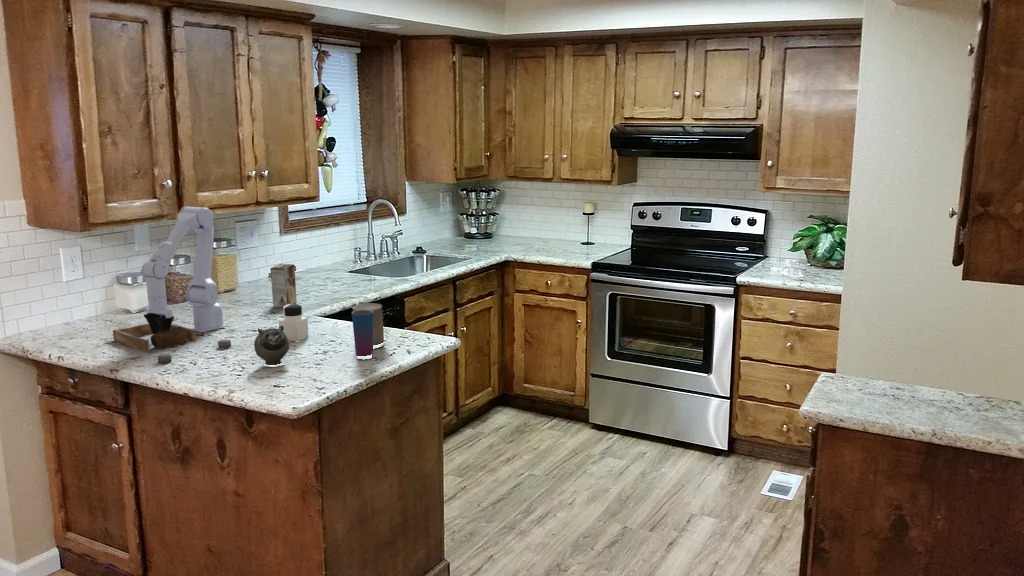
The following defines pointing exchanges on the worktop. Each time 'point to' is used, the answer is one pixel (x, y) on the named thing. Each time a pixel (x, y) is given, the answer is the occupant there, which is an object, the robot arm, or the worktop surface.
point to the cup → (363, 331)
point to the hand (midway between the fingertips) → (160, 335)
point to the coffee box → (283, 285)
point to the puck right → (224, 343)
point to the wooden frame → (131, 333)
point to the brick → (169, 338)
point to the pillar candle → (374, 320)
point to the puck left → (164, 358)
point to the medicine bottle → (294, 323)
